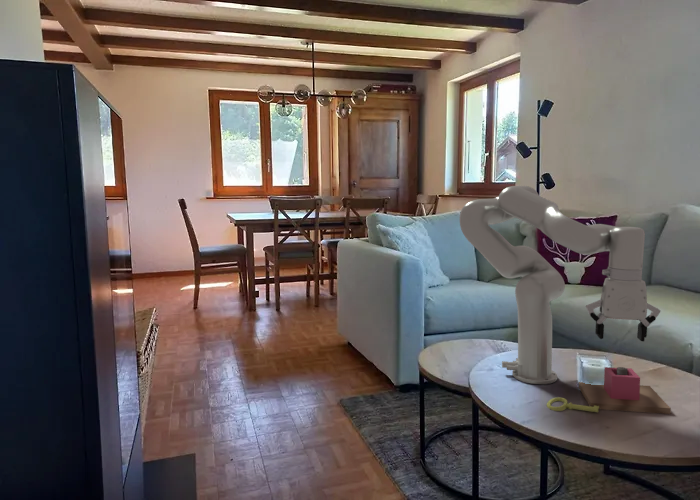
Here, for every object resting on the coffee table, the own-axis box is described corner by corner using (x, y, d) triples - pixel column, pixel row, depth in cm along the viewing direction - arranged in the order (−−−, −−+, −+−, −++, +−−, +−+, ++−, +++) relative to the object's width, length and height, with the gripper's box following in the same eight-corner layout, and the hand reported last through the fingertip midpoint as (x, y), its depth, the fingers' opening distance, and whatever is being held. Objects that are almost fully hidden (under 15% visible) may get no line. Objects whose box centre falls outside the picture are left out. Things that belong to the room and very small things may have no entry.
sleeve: (611, 398, 123) (611, 376, 123) (603, 388, 130) (604, 367, 129) (639, 400, 122) (640, 377, 121) (630, 389, 128) (631, 368, 128)
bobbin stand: (590, 408, 121) (591, 376, 120) (578, 386, 135) (579, 358, 134) (670, 414, 117) (671, 380, 116) (649, 391, 131) (650, 361, 130)
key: (600, 417, 118) (601, 408, 117) (547, 411, 122) (547, 403, 121) (596, 405, 124) (596, 397, 124) (545, 400, 128) (545, 392, 128)
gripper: (591, 276, 121) (587, 341, 123) (668, 278, 117) (662, 345, 119) (584, 270, 128) (581, 332, 130) (656, 273, 124) (651, 336, 126)
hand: (620, 338), depth 125 cm, fingers open, 9 cm apart
